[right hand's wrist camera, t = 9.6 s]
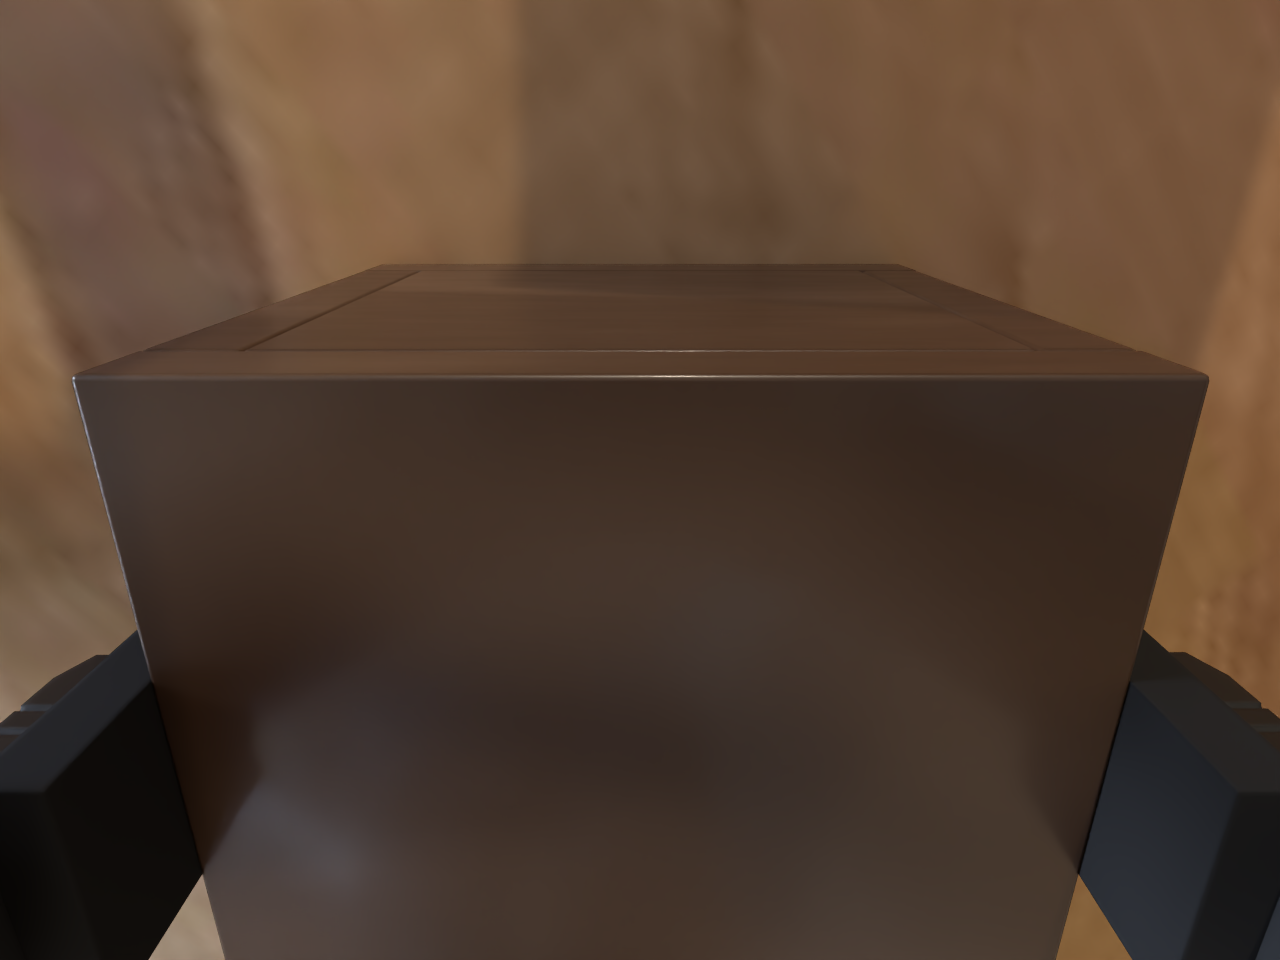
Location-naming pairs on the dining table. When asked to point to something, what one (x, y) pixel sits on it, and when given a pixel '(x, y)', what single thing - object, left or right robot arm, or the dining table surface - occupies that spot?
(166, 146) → the dining table surface
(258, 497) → the cabinet
